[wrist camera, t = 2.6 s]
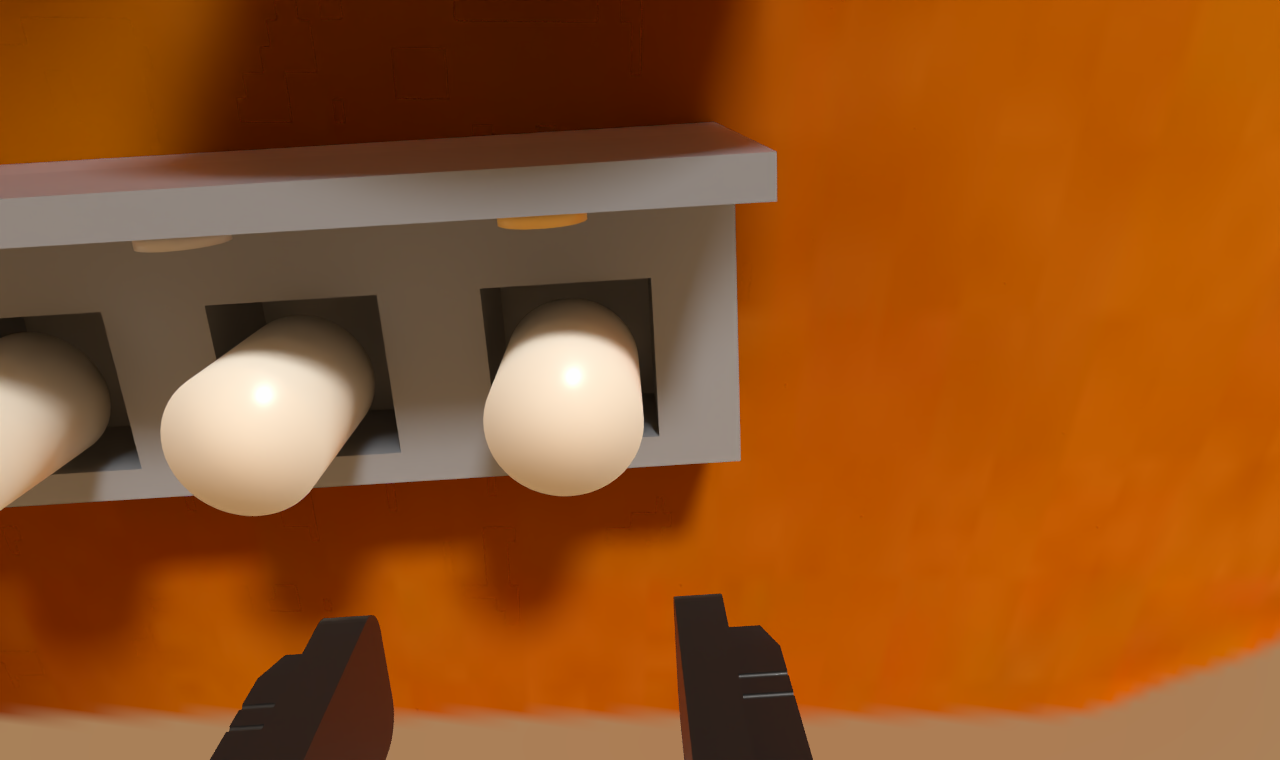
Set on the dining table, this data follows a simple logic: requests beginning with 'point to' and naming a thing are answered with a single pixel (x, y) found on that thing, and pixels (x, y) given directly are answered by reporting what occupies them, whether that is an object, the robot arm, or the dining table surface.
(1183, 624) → the dining table surface
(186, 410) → the middle button
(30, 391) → the button
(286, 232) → the console
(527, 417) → the button
